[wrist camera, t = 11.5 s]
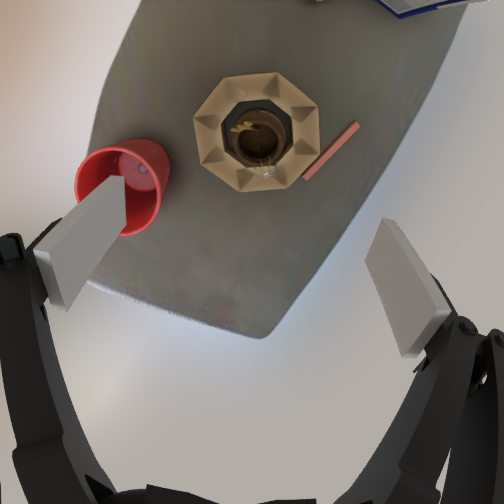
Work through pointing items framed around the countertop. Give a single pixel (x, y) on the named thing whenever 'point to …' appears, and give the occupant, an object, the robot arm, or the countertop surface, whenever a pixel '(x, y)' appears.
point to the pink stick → (330, 150)
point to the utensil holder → (258, 138)
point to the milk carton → (419, 6)
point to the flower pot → (129, 178)
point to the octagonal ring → (225, 159)
